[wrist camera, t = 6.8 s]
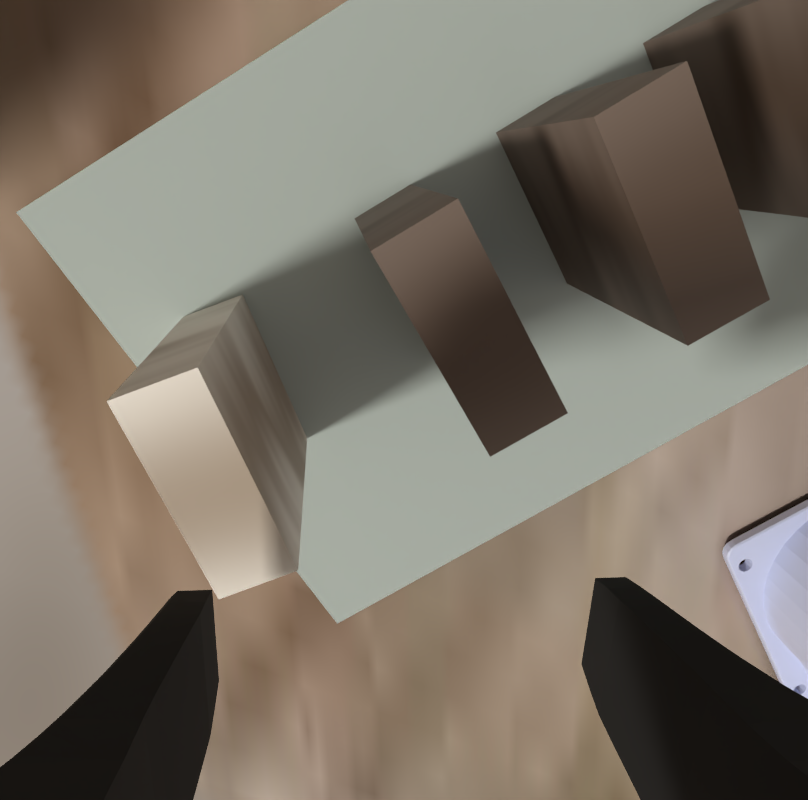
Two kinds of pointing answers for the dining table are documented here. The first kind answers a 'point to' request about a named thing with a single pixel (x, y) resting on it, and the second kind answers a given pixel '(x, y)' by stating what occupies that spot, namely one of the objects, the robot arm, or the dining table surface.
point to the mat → (371, 292)
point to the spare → (220, 445)
